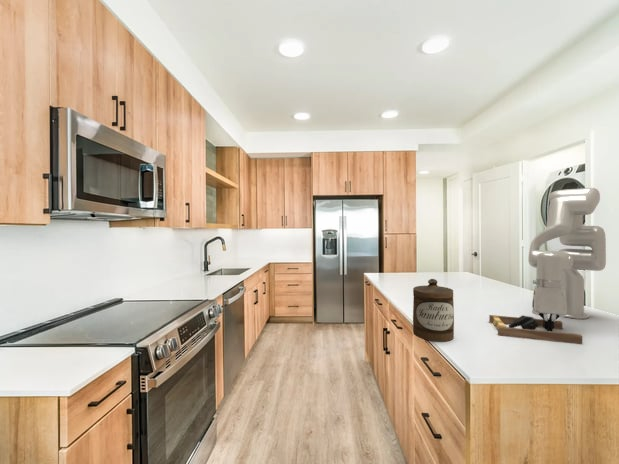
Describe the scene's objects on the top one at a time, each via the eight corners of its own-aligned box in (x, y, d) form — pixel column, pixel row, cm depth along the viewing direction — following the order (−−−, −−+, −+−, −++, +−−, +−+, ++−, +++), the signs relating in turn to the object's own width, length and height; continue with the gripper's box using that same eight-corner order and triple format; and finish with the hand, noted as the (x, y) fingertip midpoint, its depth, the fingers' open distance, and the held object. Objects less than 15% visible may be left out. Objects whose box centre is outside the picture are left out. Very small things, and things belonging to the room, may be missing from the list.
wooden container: (417, 341, 114) (417, 282, 113) (409, 328, 128) (409, 275, 128) (459, 342, 112) (459, 282, 111) (447, 329, 126) (447, 276, 126)
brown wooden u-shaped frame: (489, 321, 136) (489, 314, 136) (560, 328, 127) (560, 320, 127) (498, 335, 119) (498, 327, 119) (582, 344, 110) (582, 335, 110)
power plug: (499, 326, 127) (525, 311, 125) (511, 342, 126) (537, 326, 125) (506, 331, 121) (533, 314, 120) (518, 347, 121) (545, 331, 119)
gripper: (529, 284, 120) (529, 331, 120) (576, 286, 114) (576, 335, 115) (523, 281, 127) (523, 325, 127) (568, 283, 121) (567, 329, 122)
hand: (548, 330), depth 121 cm, fingers closed
